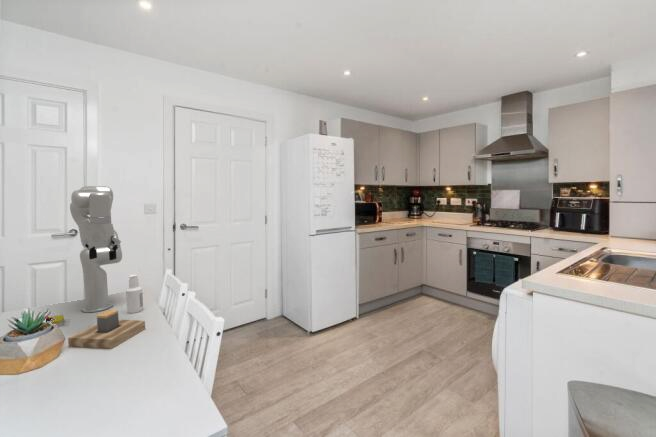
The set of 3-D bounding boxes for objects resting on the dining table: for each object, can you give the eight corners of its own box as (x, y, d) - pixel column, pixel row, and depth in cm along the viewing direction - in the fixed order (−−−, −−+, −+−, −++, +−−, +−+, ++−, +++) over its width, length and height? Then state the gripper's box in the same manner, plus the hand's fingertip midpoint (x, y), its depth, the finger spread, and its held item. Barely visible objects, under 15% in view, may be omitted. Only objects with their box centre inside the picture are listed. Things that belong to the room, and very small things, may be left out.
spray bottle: (146, 309, 158) (144, 274, 157) (134, 314, 152) (132, 277, 151) (136, 307, 161) (134, 273, 159) (123, 312, 154) (121, 276, 153)
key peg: (98, 340, 124) (96, 315, 123) (110, 333, 130) (109, 310, 129) (107, 340, 124) (105, 316, 123) (119, 334, 130) (118, 310, 129)
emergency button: (25, 318, 138) (69, 310, 147) (26, 328, 138) (70, 319, 147) (21, 325, 130) (68, 316, 139) (22, 335, 131) (68, 326, 140)
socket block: (68, 346, 119) (67, 337, 119) (107, 327, 137) (107, 319, 137) (111, 348, 117) (110, 339, 117) (145, 328, 135) (144, 320, 134)
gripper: (75, 221, 135) (78, 260, 136) (111, 222, 133) (113, 261, 134) (90, 219, 142) (93, 256, 144) (125, 220, 140) (127, 258, 142)
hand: (103, 259), depth 139 cm, fingers open, 9 cm apart
